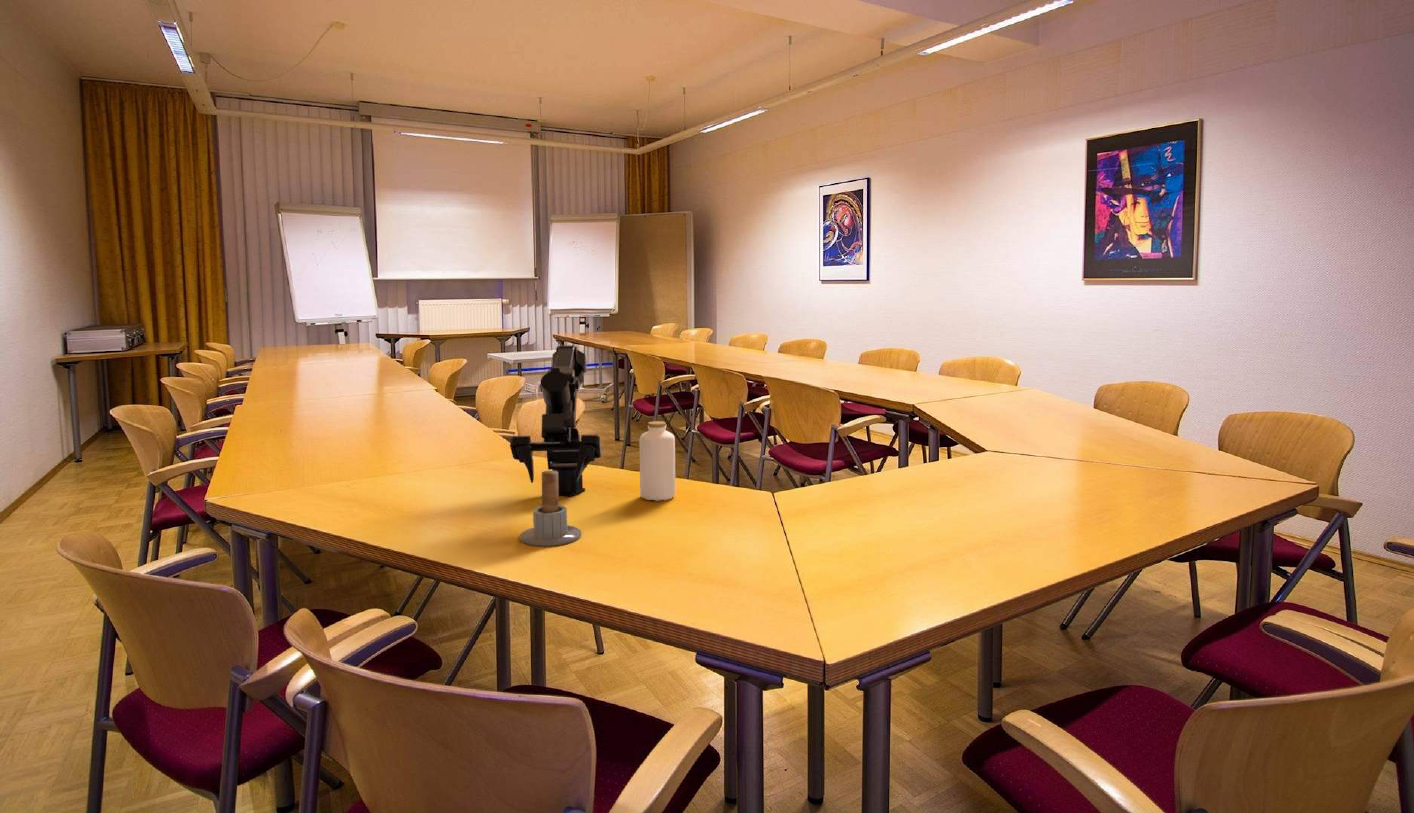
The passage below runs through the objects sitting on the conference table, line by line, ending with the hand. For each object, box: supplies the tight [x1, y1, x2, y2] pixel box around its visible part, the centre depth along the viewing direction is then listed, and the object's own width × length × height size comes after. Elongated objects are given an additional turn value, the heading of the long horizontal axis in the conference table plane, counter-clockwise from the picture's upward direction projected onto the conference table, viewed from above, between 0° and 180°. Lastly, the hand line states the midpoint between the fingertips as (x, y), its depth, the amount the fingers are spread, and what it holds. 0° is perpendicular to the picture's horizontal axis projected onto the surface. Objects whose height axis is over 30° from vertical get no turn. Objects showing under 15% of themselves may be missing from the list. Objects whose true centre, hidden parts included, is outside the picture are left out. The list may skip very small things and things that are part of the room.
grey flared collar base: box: [519, 505, 582, 548], centre depth 154 cm, size 12×12×6 cm
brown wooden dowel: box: [541, 470, 560, 513], centre depth 154 cm, size 3×3×12 cm
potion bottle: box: [638, 420, 676, 502], centre depth 182 cm, size 8×8×18 cm
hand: (554, 481), depth 161 cm, fingers open, 9 cm apart
